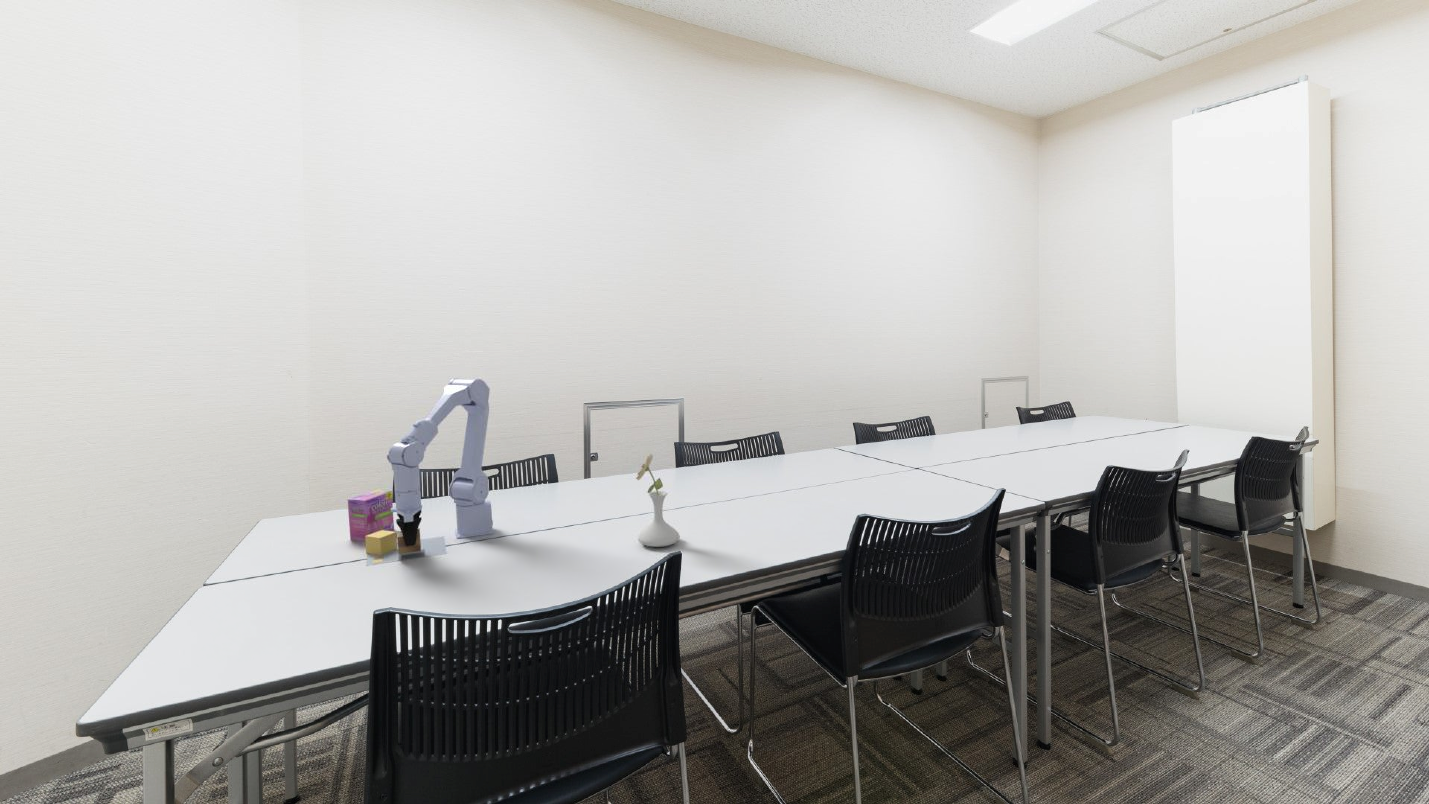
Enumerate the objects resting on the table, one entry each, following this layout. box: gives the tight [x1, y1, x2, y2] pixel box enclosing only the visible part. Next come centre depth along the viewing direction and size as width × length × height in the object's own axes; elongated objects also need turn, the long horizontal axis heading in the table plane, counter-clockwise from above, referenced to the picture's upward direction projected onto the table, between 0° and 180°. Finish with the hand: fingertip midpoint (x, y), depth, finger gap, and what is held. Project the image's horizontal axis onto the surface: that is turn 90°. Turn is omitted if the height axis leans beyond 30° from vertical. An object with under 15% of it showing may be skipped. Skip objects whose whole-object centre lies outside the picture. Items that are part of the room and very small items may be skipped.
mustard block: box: [365, 530, 398, 555], centre depth 154 cm, size 5×5×4 cm
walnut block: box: [396, 527, 421, 554], centre depth 151 cm, size 5×5×4 cm
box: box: [347, 489, 395, 542], centre depth 167 cm, size 10×6×12 cm, turn 168°
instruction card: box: [365, 535, 447, 567], centre depth 155 cm, size 18×15×1 cm
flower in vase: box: [635, 453, 681, 548], centre depth 158 cm, size 13×11×25 cm
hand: (410, 541), depth 151 cm, fingers closed on walnut block, 5 cm apart
